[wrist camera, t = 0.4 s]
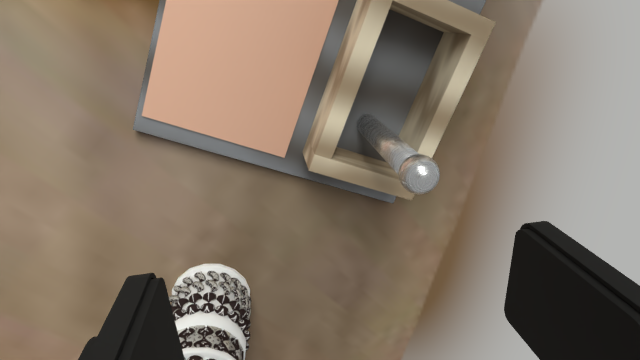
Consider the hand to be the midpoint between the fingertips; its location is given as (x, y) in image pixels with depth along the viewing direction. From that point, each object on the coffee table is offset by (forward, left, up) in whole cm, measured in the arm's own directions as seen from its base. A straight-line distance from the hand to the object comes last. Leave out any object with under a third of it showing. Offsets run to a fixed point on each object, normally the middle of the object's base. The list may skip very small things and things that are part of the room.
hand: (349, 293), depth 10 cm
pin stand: (-4, +1, -28) cm, 29 cm away
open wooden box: (-4, +8, -28) cm, 29 cm away
